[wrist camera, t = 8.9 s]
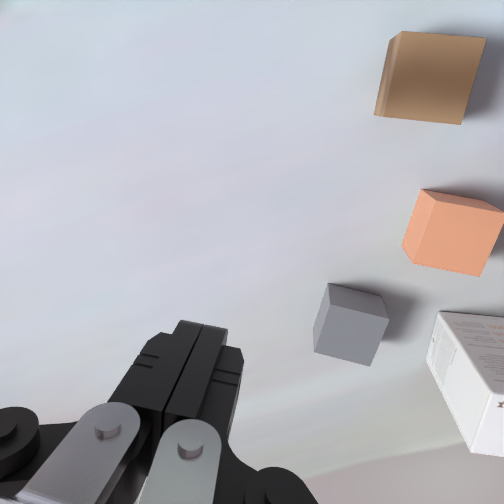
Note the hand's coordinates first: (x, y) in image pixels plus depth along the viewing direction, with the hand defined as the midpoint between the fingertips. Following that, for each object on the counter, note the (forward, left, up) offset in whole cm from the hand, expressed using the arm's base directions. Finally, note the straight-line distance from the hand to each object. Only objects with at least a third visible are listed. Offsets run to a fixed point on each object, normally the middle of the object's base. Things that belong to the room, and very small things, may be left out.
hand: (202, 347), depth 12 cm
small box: (+10, +21, -22) cm, 32 cm away
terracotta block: (0, +15, -22) cm, 26 cm away
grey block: (+10, +9, -22) cm, 26 cm away
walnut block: (-10, +9, -22) cm, 26 cm away
